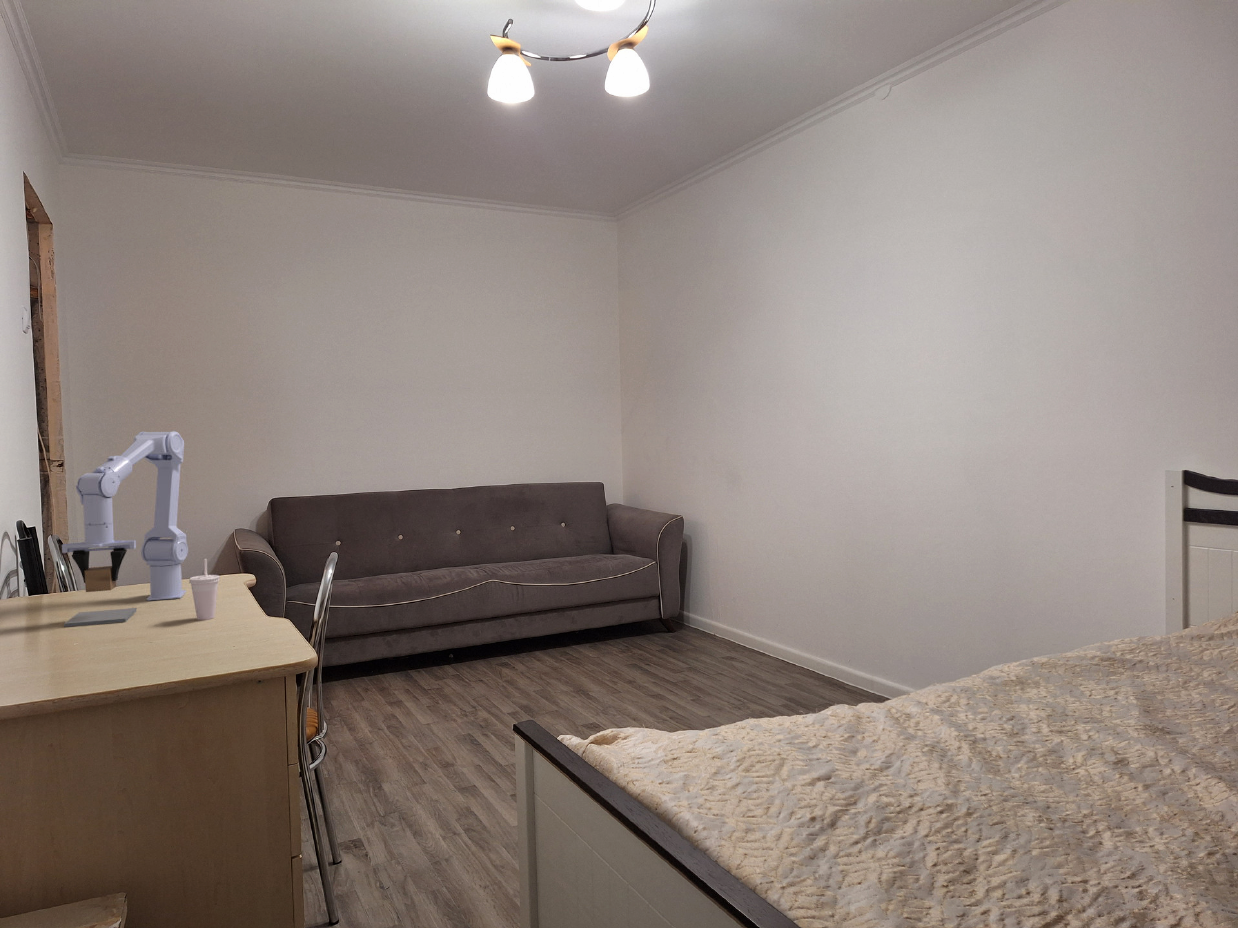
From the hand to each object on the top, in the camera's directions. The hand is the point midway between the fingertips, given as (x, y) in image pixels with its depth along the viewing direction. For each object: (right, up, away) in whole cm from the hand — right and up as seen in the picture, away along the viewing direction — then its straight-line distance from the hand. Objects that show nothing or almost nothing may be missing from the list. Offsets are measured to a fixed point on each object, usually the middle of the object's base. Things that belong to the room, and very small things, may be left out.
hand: (100, 581), depth 187 cm
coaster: (0, -9, 0) cm, 9 cm away
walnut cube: (0, -2, 0) cm, 2 cm away
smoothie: (+25, -9, 0) cm, 26 cm away
